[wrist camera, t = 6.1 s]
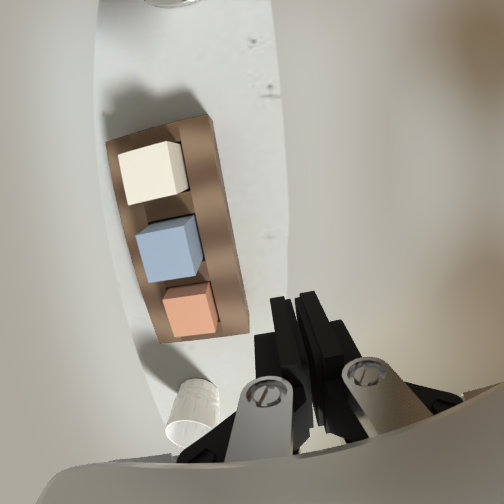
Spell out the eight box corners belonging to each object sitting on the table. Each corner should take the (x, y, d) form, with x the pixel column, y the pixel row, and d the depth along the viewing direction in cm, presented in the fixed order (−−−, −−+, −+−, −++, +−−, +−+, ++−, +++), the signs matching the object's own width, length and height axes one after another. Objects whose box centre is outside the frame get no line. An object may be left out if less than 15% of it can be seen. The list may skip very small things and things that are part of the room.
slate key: (153, 222, 33) (135, 235, 27) (194, 214, 33) (183, 225, 27) (163, 263, 34) (148, 282, 29) (203, 256, 34) (195, 275, 29)
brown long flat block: (122, 143, 34) (105, 142, 29) (212, 120, 33) (206, 114, 29) (168, 324, 42) (159, 343, 37) (249, 313, 41) (249, 333, 36)
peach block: (174, 279, 37) (162, 299, 32) (211, 273, 37) (205, 293, 32) (183, 312, 39) (174, 337, 33) (219, 307, 39) (215, 332, 33)
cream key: (139, 154, 31) (117, 154, 25) (180, 144, 30) (166, 141, 25) (147, 197, 32) (128, 205, 26) (189, 187, 32) (176, 194, 26)
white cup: (215, 411, 47) (210, 454, 38) (172, 399, 46) (161, 441, 37) (228, 383, 45) (225, 429, 36) (181, 369, 44) (169, 413, 35)
